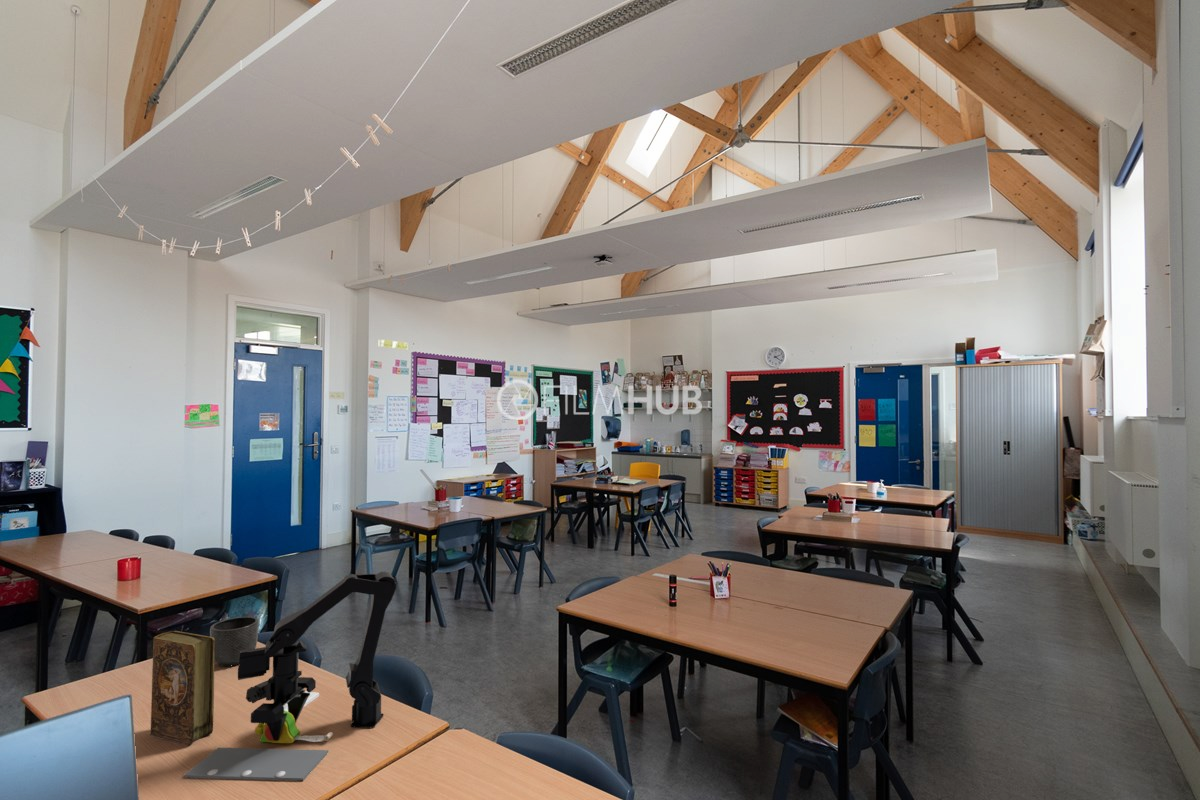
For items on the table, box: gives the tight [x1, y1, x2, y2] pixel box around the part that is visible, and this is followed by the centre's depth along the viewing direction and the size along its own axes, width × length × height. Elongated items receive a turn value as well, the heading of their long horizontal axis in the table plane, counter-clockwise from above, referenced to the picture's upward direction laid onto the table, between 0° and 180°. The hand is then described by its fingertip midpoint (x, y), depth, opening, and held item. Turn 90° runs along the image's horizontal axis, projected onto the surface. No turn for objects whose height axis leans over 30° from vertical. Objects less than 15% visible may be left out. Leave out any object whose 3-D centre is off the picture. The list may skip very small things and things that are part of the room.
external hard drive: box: [283, 690, 320, 712], centre depth 162 cm, size 2×8×12 cm
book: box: [150, 630, 216, 746], centre depth 147 cm, size 16×6×25 cm, turn 71°
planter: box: [209, 616, 260, 667], centre depth 192 cm, size 14×14×13 cm
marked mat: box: [183, 747, 329, 782], centre depth 134 cm, size 28×11×1 cm, turn 87°
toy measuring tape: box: [254, 711, 334, 744], centre depth 144 cm, size 6×19×7 cm, turn 88°
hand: (284, 733), depth 144 cm, fingers closed on toy measuring tape, 6 cm apart
